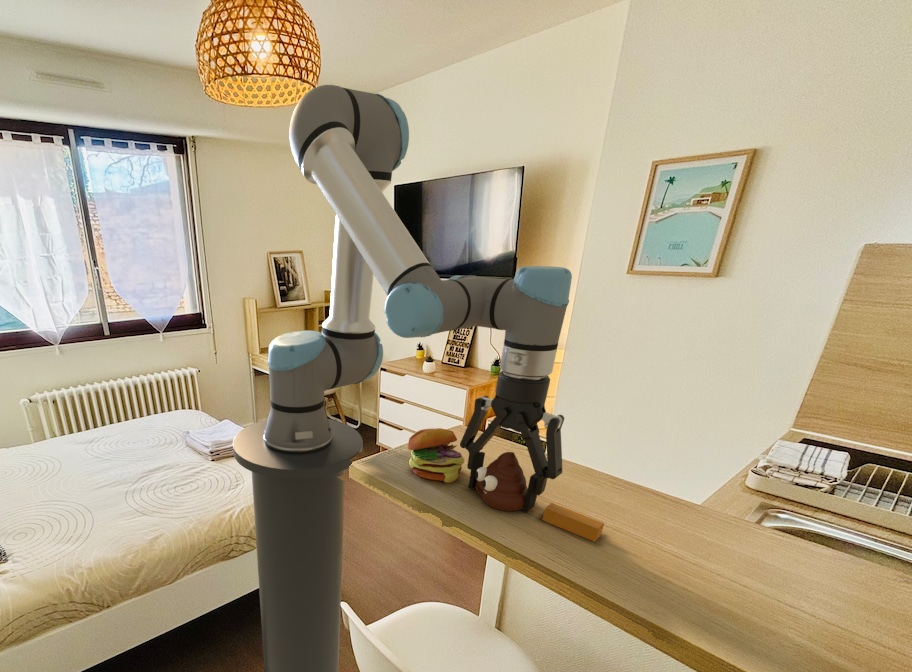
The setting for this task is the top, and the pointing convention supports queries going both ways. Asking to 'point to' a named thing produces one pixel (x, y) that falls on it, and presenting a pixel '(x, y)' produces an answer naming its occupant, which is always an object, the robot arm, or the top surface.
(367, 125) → the robot arm
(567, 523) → the ochre stick
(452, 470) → the cheeseburger
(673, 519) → the top surface
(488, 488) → the poop emoji
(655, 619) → the top surface
